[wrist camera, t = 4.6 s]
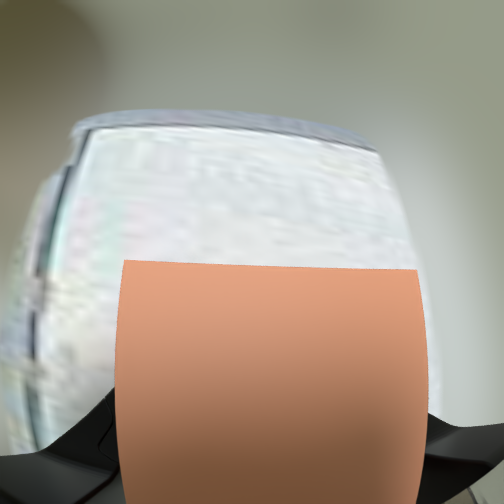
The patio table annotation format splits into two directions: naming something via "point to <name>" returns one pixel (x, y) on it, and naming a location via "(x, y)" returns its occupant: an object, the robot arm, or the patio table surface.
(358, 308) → the salmon orange block
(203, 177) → the patio table surface
